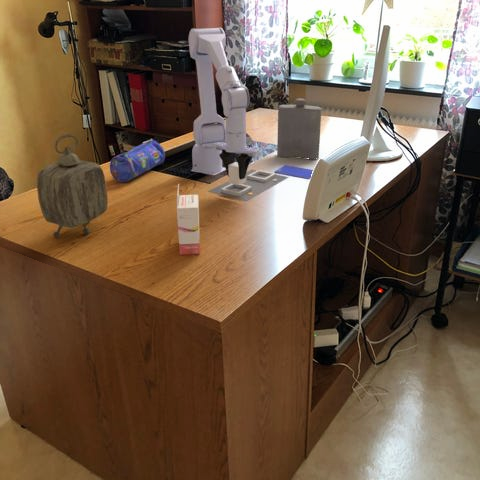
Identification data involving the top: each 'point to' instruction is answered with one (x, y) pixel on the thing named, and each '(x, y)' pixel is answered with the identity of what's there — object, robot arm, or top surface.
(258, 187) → the port panel
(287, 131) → the flask
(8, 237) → the top surface
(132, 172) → the pencil case
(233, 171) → the plug
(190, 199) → the ink cartridge box
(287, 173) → the hard drive
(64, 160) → the tabletop clock
